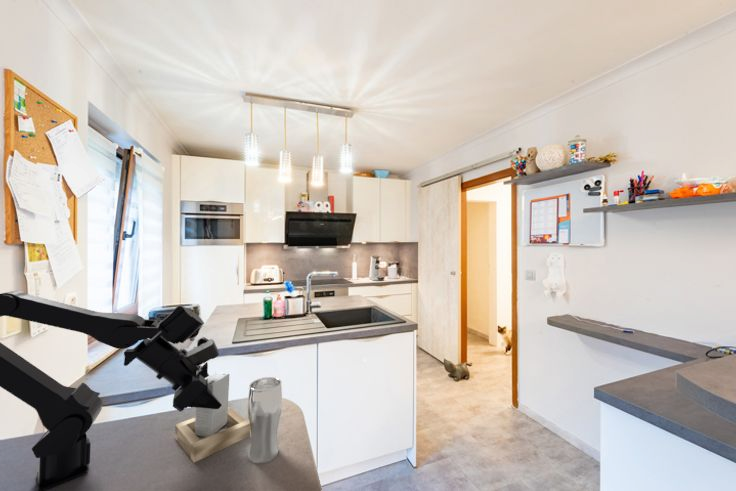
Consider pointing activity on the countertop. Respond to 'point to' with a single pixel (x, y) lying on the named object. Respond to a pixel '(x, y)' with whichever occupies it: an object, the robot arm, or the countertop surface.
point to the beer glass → (264, 418)
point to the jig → (215, 442)
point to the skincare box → (214, 418)
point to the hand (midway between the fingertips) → (219, 399)
